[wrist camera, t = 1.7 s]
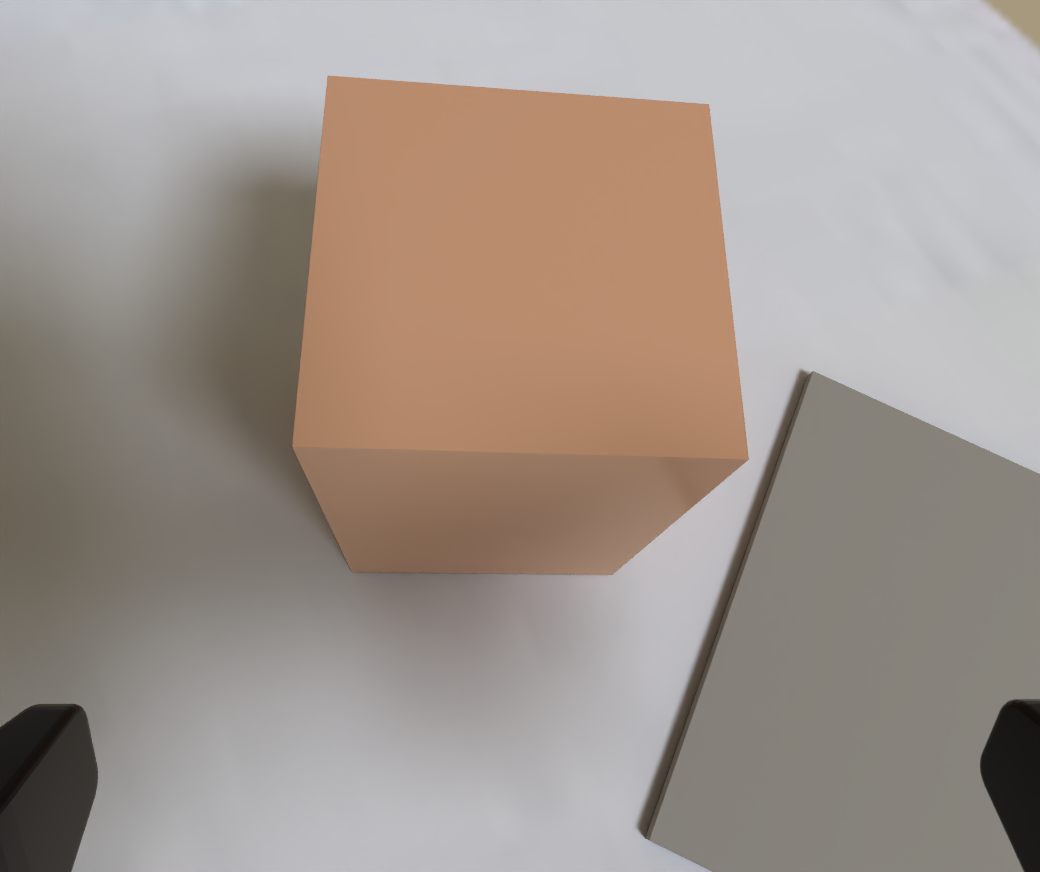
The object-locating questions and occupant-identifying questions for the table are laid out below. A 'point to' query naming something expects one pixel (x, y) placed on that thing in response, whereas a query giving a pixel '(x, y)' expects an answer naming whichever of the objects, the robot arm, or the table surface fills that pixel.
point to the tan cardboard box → (513, 328)
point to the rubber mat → (863, 655)
